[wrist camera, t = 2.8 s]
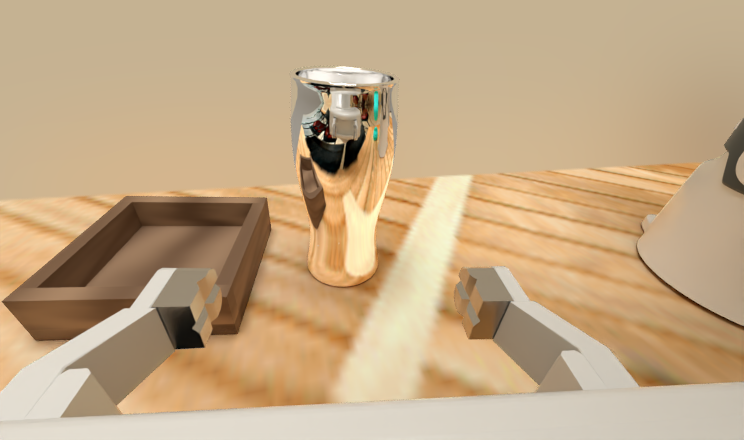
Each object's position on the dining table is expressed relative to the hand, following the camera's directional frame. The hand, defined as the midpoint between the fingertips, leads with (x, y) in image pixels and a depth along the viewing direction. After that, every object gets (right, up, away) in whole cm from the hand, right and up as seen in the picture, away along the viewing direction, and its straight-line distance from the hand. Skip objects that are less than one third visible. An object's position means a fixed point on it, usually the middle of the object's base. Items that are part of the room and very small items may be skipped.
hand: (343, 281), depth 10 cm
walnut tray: (-14, -2, +14) cm, 20 cm away
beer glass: (-2, -2, +17) cm, 17 cm away
